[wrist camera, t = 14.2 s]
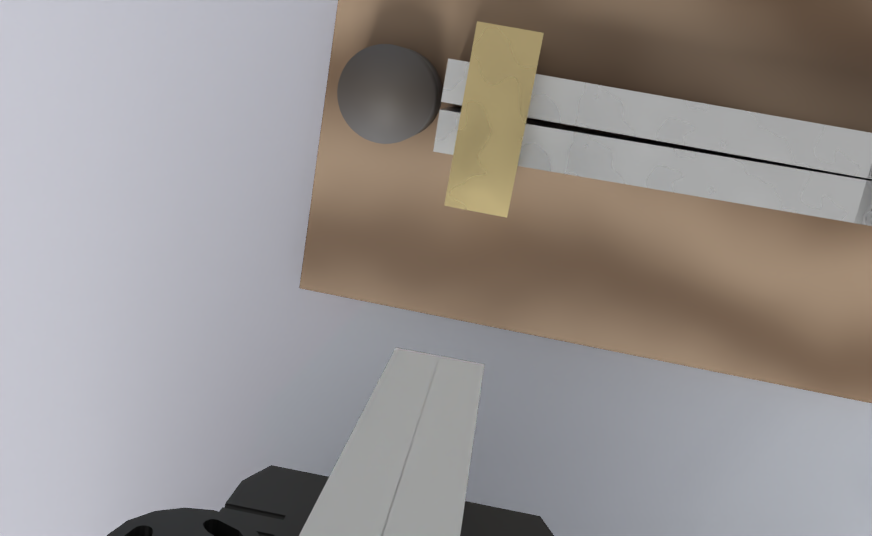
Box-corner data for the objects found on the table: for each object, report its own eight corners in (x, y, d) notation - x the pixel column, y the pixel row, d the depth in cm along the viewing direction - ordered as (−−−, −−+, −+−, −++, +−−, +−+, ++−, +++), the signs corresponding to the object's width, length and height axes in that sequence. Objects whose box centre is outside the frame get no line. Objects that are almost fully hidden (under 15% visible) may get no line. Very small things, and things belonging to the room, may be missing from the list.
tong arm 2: (451, 99, 32) (441, 101, 28) (458, 61, 31) (448, 58, 27) (902, 180, 30) (957, 194, 26) (915, 141, 30) (972, 150, 26)
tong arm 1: (444, 143, 32) (433, 151, 28) (450, 106, 32) (439, 109, 28) (891, 218, 31) (943, 238, 27) (902, 180, 30) (957, 195, 26)
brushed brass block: (511, 185, 32) (506, 217, 24) (463, 176, 32) (444, 205, 25) (539, 45, 31) (543, 32, 23) (489, 36, 31) (477, 21, 23)
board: (892, 399, 34) (942, 443, 30) (305, 282, 35) (276, 308, 31) (1043, -41, 29) (1126, -61, 25) (364, -151, 31) (340, -186, 27)
